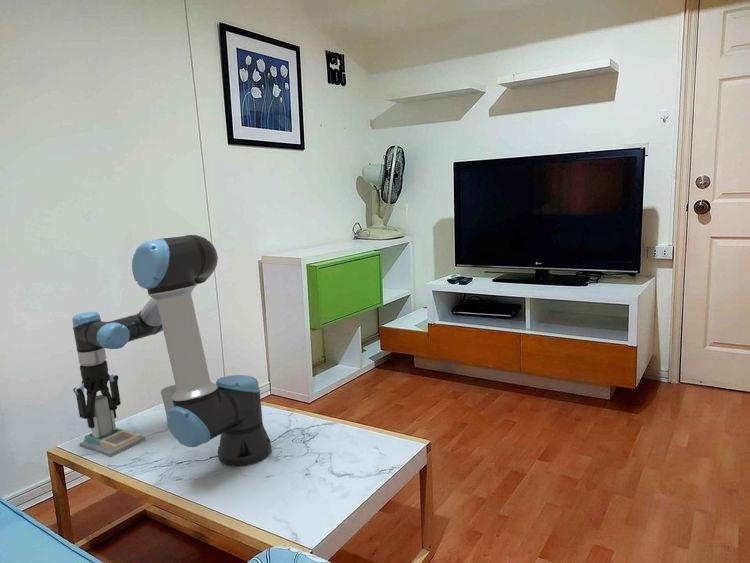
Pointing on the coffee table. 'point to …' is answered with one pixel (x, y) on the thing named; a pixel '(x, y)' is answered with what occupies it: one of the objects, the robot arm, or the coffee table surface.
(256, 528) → the coffee table surface
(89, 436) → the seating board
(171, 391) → the cup
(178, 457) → the coffee table surface
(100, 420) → the beverage can
